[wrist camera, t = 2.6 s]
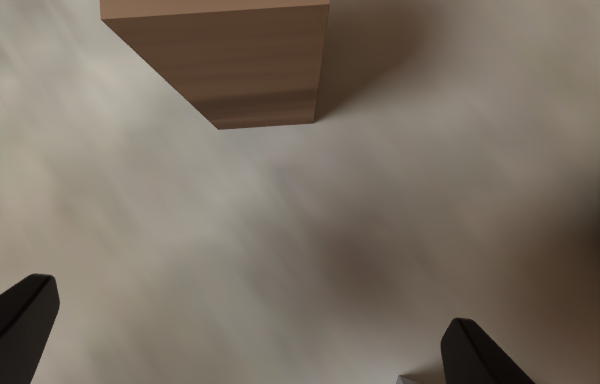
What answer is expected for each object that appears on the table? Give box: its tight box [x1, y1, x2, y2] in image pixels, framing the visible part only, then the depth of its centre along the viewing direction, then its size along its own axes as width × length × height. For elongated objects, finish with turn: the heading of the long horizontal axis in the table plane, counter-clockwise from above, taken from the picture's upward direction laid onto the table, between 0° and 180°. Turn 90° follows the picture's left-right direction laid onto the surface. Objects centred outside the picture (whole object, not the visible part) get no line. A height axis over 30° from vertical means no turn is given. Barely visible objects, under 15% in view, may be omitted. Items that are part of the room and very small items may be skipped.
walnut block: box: [100, 0, 330, 130], centre depth 16 cm, size 5×5×13 cm
